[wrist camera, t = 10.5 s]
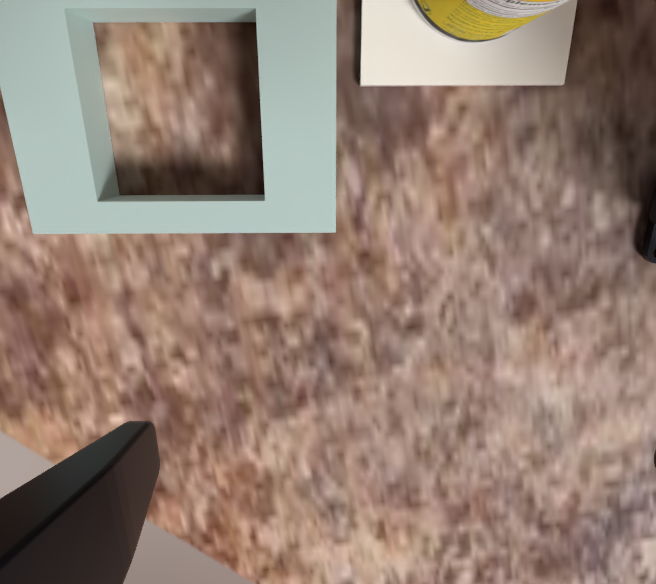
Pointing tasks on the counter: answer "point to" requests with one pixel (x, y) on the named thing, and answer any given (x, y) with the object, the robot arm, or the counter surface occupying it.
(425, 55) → the white square tile
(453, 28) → the supplement bottle
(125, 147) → the counter surface
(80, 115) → the holder block
